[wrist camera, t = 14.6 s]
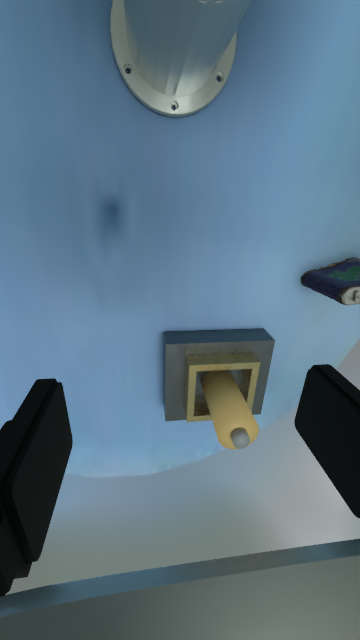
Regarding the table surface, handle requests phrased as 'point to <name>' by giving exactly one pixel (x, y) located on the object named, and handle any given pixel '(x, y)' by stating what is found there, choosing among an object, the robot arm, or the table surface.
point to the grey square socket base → (213, 368)
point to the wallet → (336, 281)
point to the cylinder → (229, 410)
